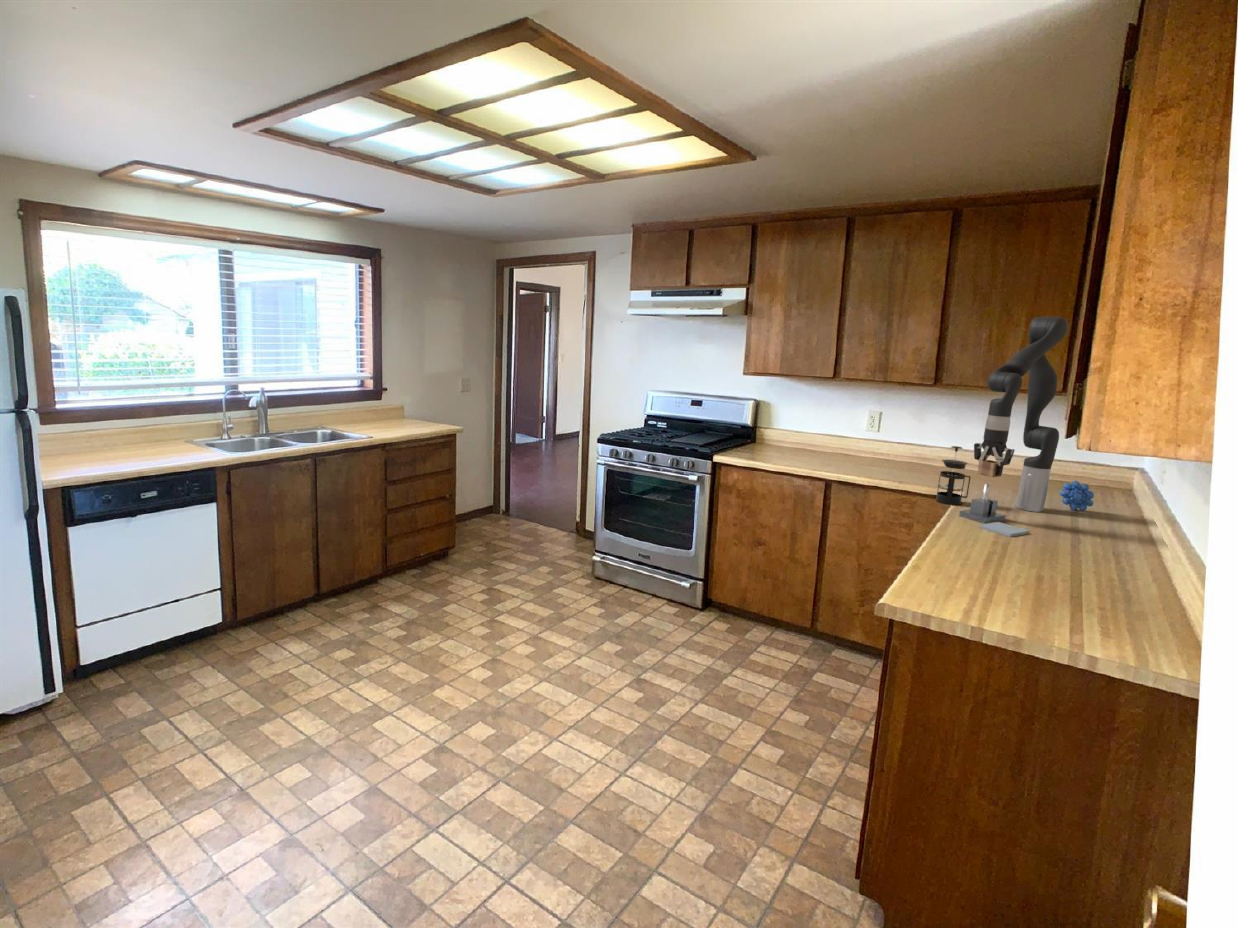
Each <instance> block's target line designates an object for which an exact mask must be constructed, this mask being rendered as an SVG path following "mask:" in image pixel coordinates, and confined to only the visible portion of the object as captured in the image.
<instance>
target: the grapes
mask: <svg viewBox="0 0 1238 928" xmlns="http://www.w3.org/2000/svg"><path fill="white" fill-rule="evenodd" d="M1062 488H1063V489H1060V490H1059V495H1060V496H1061V497H1062V499H1061V501H1062V502H1061V503H1062V504H1063V505H1066V506H1069V508H1070V510H1072V511H1077V510H1080V511H1081V512H1085V511H1087V509H1088V507H1092V506H1094V503H1095V502H1094V501H1093V499H1094V497H1095V493H1094V492H1093V491H1092V490H1089V489H1090V487H1089V485H1088V484H1087V483H1082V484H1081V483H1080V482H1079V481H1078V480H1073V481H1071V483H1069V482H1065V483H1063V485H1062Z"/></svg>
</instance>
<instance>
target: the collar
mask: <svg viewBox="0 0 1238 928" xmlns="http://www.w3.org/2000/svg"><path fill="white" fill-rule="evenodd" d="M997 466H998V465H997V461H996V460H991V459H986V460H982V461H980V462H979V461H978V467H979V468H978V467H977V475H980V476H985V477H989V478H997V477H998V478H999V477H1002V474H1003V473H1002V474H1001V475H1000V476H995V473H996V467H997Z"/></svg>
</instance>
